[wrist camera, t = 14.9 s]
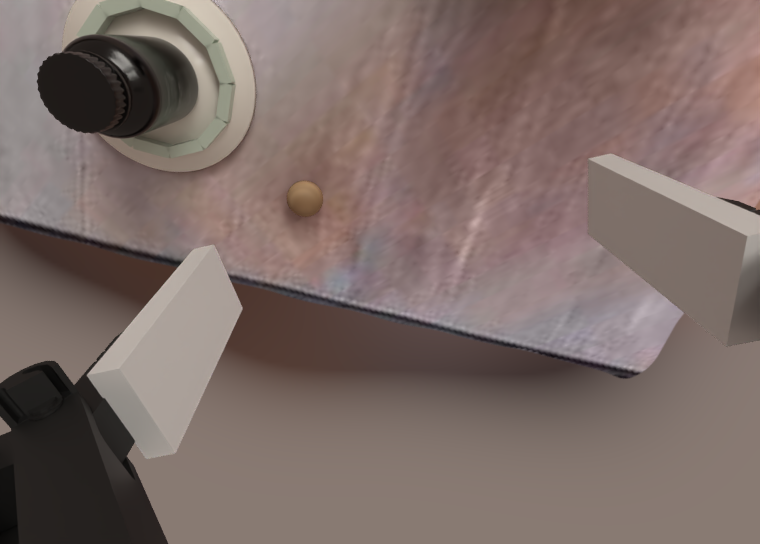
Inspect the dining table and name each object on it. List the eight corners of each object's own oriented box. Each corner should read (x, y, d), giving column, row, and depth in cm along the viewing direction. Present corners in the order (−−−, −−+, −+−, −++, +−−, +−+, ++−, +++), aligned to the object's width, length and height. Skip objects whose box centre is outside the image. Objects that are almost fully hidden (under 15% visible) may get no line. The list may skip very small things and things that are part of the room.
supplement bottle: (145, 16, 35) (48, 2, 24) (216, 79, 37) (156, 91, 27) (104, 82, 37) (-1, 96, 27) (173, 138, 40) (103, 171, 29)
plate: (29, 1, 35) (10, -1, 33) (213, -53, 34) (204, -59, 32) (127, 186, 42) (116, 193, 40) (281, 147, 41) (277, 151, 39)
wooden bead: (284, 181, 43) (278, 191, 40) (318, 172, 43) (315, 182, 39) (296, 213, 44) (291, 225, 41) (328, 205, 44) (326, 217, 41)
